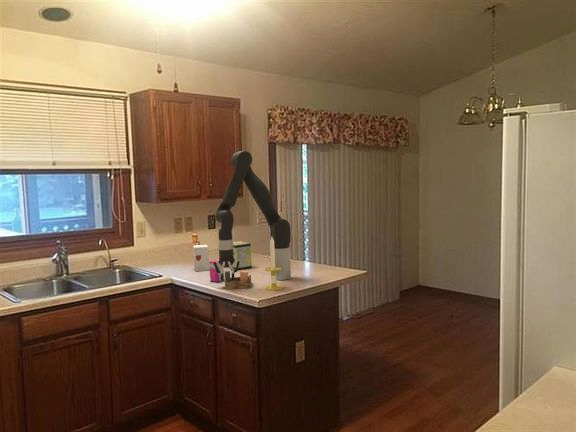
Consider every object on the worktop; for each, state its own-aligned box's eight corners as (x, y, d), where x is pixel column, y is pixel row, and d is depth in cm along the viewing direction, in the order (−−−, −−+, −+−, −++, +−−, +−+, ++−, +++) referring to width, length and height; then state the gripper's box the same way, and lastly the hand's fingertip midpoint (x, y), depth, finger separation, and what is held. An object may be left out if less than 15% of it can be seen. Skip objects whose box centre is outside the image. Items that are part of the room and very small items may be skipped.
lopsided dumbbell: (248, 281, 264) (247, 269, 263) (248, 283, 259) (247, 271, 258) (225, 282, 263) (225, 271, 263) (225, 284, 258) (224, 272, 258)
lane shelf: (251, 282, 267) (250, 274, 267) (250, 288, 255) (250, 279, 255) (227, 284, 267) (226, 275, 266) (225, 289, 255) (224, 280, 254)
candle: (287, 287, 253) (285, 235, 250) (271, 291, 247) (268, 237, 245) (276, 284, 261) (274, 233, 258) (260, 287, 255) (258, 235, 253)
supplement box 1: (194, 271, 305) (193, 247, 303) (194, 268, 313) (192, 245, 312) (209, 270, 306) (208, 246, 305) (208, 267, 315) (207, 244, 314)
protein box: (240, 264, 321) (239, 240, 320) (252, 268, 308) (251, 243, 307) (225, 267, 315) (224, 242, 314) (237, 270, 302) (236, 245, 301)
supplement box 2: (217, 279, 280) (216, 259, 279) (224, 280, 276) (223, 260, 275) (209, 281, 275) (208, 260, 274) (217, 282, 271) (216, 261, 270)
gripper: (240, 246, 263) (241, 278, 265) (213, 247, 262) (214, 279, 264) (239, 248, 256) (241, 281, 257) (211, 250, 255) (213, 282, 257)
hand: (227, 280), depth 261 cm, fingers open, 4 cm apart
